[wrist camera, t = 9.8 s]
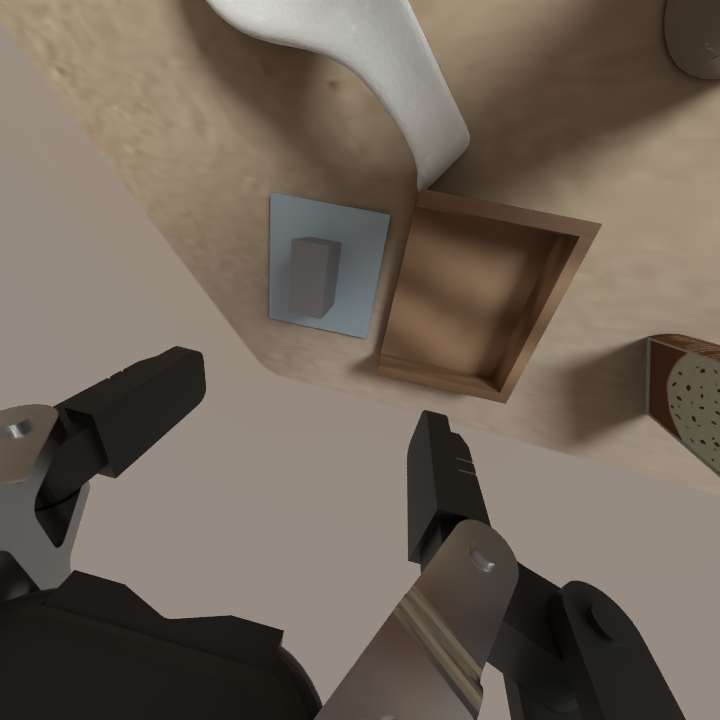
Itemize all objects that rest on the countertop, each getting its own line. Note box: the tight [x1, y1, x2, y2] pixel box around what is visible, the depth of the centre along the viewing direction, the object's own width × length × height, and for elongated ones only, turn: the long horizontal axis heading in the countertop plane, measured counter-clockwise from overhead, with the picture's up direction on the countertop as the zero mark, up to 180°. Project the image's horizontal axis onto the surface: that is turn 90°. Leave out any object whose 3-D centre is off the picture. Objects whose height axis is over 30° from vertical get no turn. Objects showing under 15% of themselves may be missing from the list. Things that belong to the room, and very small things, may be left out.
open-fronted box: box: [377, 188, 602, 404], centre depth 25 cm, size 16×13×4 cm
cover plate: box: [269, 192, 391, 339], centre depth 25 cm, size 12×11×6 cm
